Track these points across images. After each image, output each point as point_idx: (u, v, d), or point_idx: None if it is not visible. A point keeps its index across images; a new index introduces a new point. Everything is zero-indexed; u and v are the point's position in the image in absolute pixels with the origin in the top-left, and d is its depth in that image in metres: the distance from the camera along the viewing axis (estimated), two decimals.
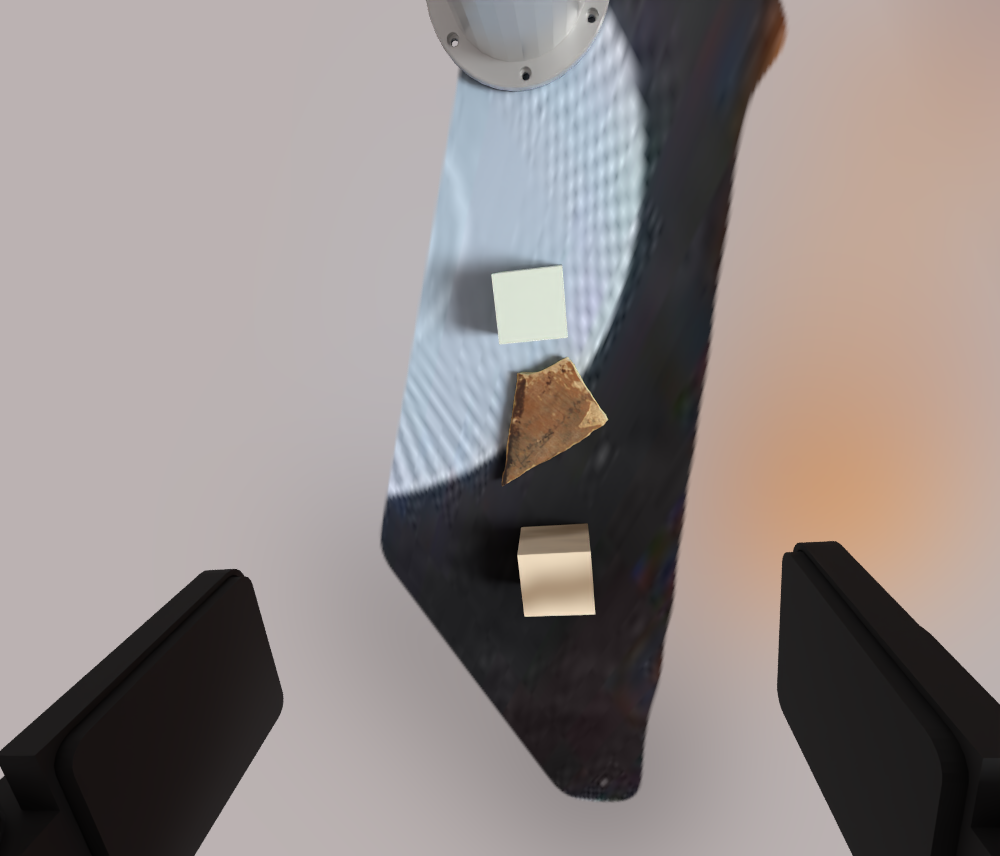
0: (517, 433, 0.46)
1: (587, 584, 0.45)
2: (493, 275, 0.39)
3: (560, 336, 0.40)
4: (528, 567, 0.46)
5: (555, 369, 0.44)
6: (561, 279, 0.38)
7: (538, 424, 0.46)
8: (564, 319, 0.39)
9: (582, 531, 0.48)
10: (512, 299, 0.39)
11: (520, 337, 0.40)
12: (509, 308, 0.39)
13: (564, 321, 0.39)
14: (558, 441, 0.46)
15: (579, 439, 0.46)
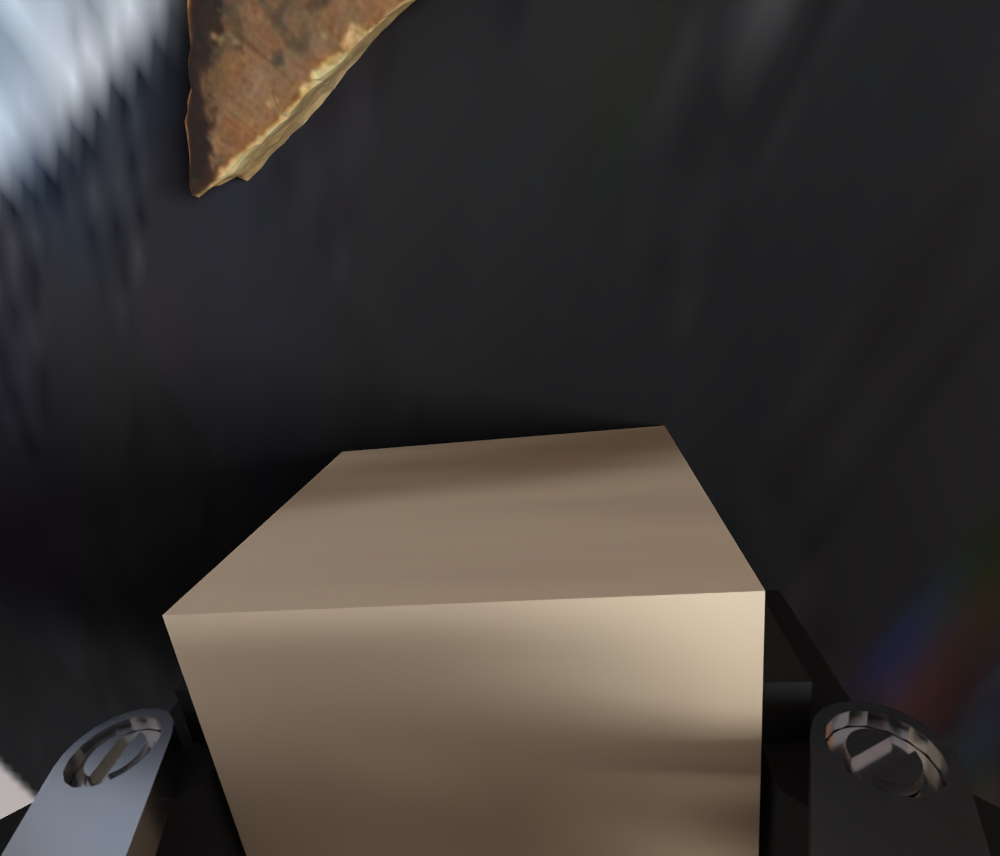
0: None
1: (712, 839, 0.06)
2: None
3: None
4: (263, 710, 0.06)
5: None
6: None
7: None
8: None
9: (648, 458, 0.08)
10: None
11: None
12: None
13: None
14: None
15: None
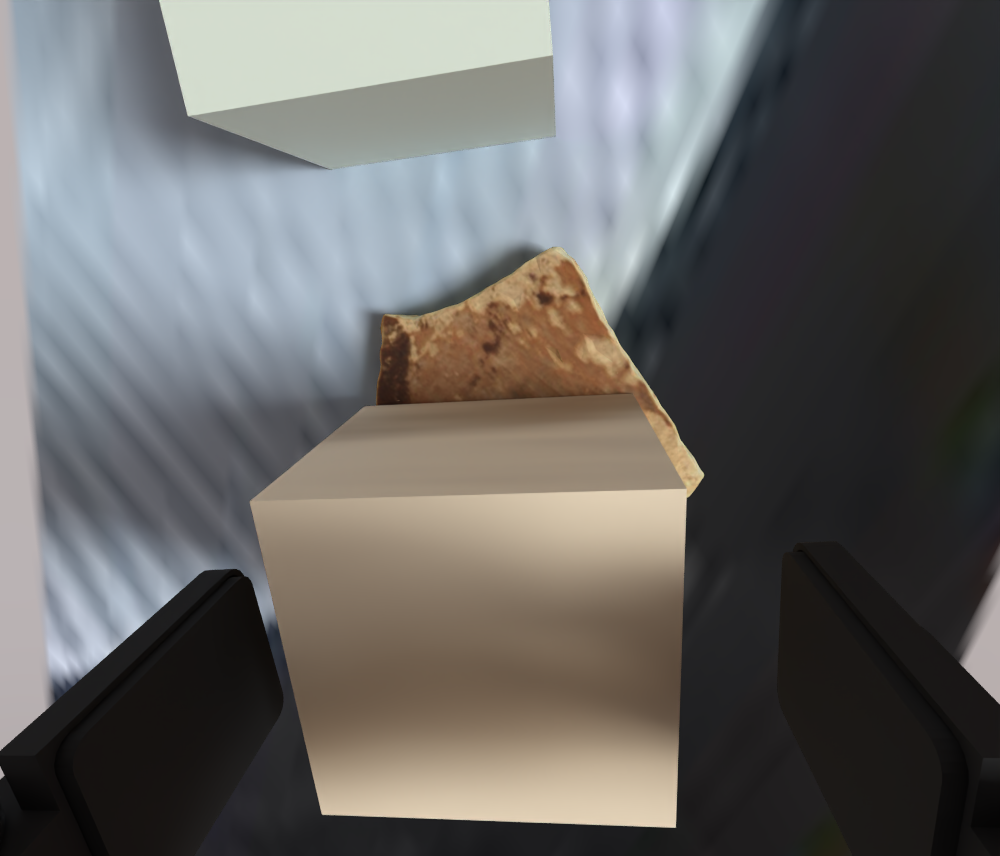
0: None
1: (646, 680, 0.08)
2: None
3: (511, 50, 0.07)
4: (320, 577, 0.08)
5: (514, 294, 0.12)
6: None
7: None
8: None
9: (616, 414, 0.10)
10: None
11: (291, 67, 0.07)
12: None
13: None
14: None
15: None
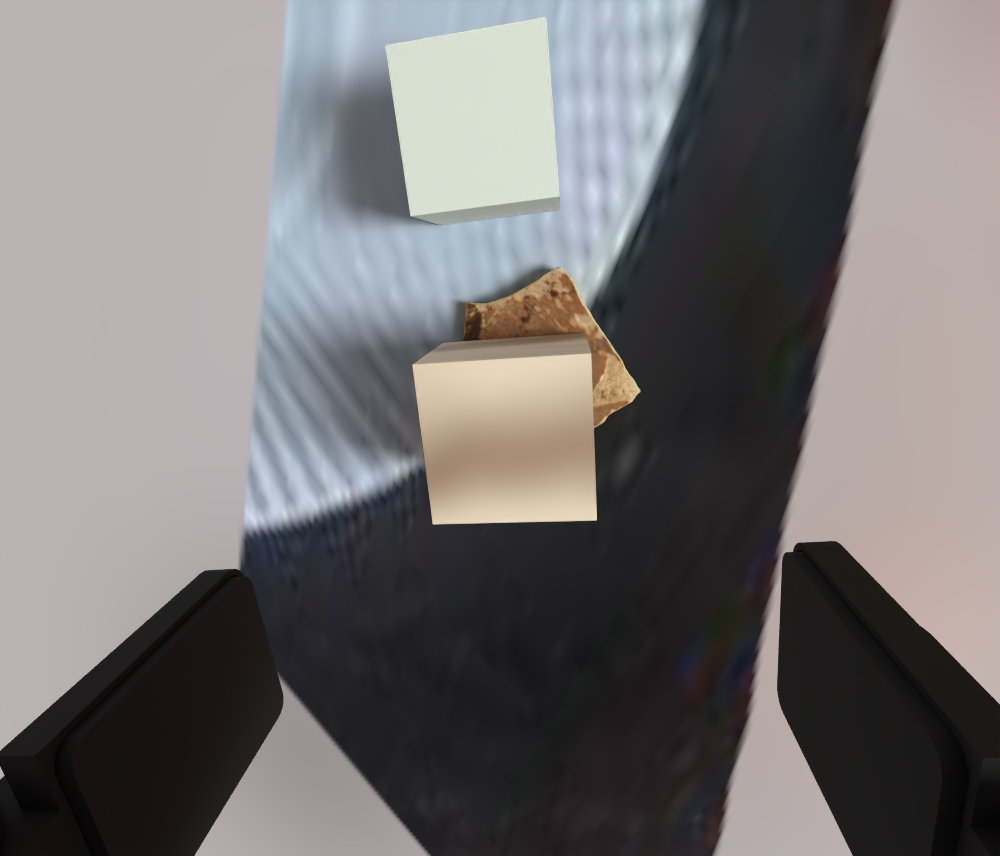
0: None
1: (579, 443, 0.19)
2: (390, 48, 0.17)
3: (543, 194, 0.18)
4: (439, 399, 0.19)
5: (538, 291, 0.22)
6: (544, 52, 0.17)
7: None
8: (552, 152, 0.17)
9: (573, 339, 0.21)
10: (435, 107, 0.17)
11: (455, 198, 0.18)
12: (429, 129, 0.18)
13: (552, 157, 0.17)
14: None
15: None
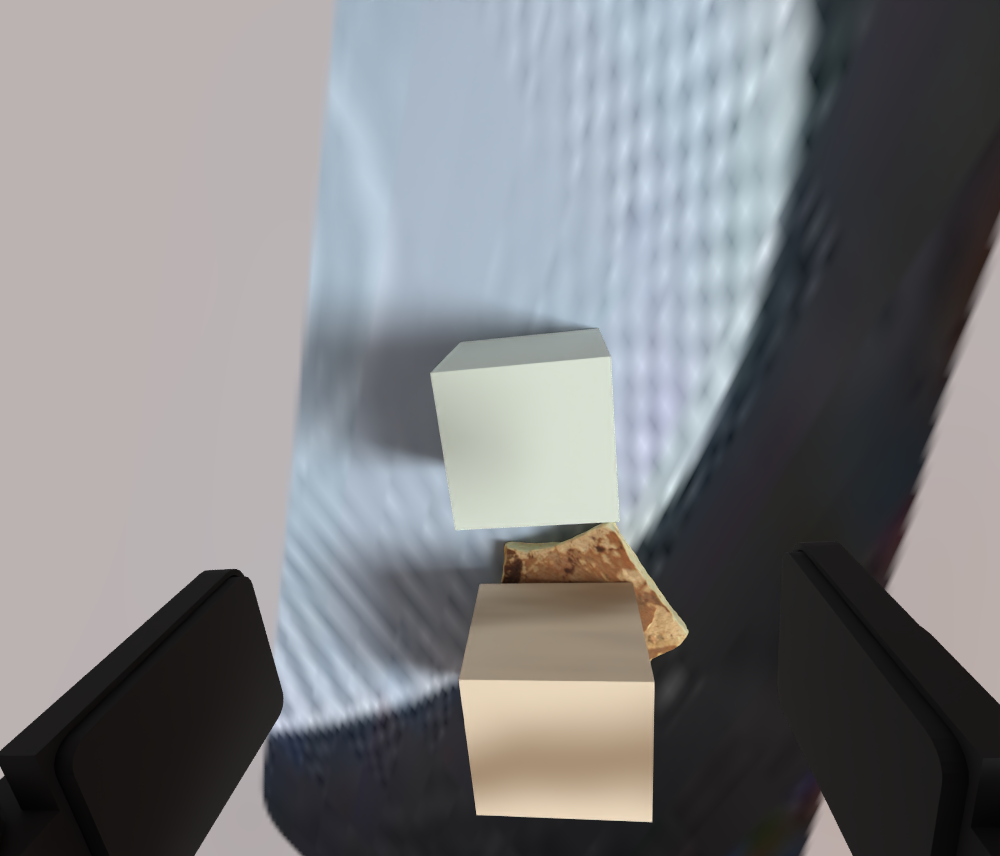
0: None
1: (637, 757, 0.18)
2: (435, 376, 0.15)
3: (601, 518, 0.16)
4: (487, 710, 0.17)
5: (583, 545, 0.21)
6: (608, 389, 0.15)
7: None
8: (612, 481, 0.16)
9: (623, 608, 0.20)
10: (485, 433, 0.16)
11: (505, 517, 0.17)
12: (478, 452, 0.16)
13: (612, 486, 0.16)
14: None
15: None
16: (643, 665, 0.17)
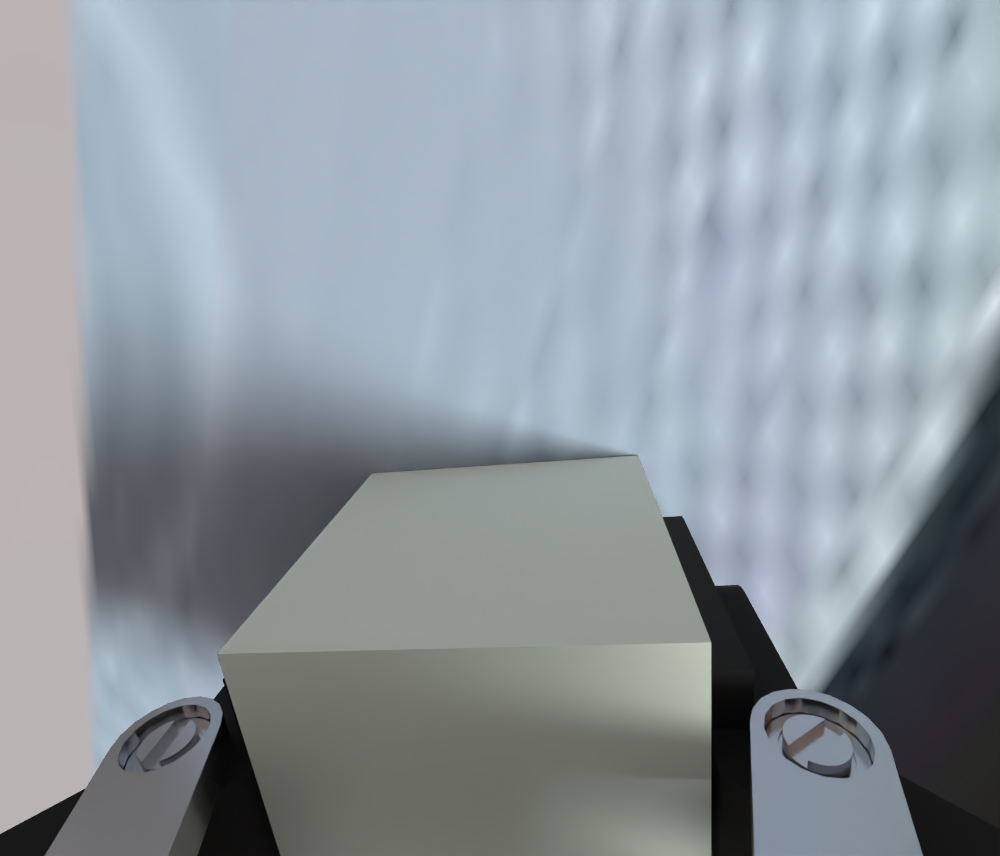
0: None
1: None
2: (232, 662, 0.06)
3: None
4: None
5: None
6: (698, 719, 0.05)
7: None
8: None
9: None
10: (372, 792, 0.06)
11: None
12: (355, 830, 0.06)
13: None
14: None
15: None
16: None
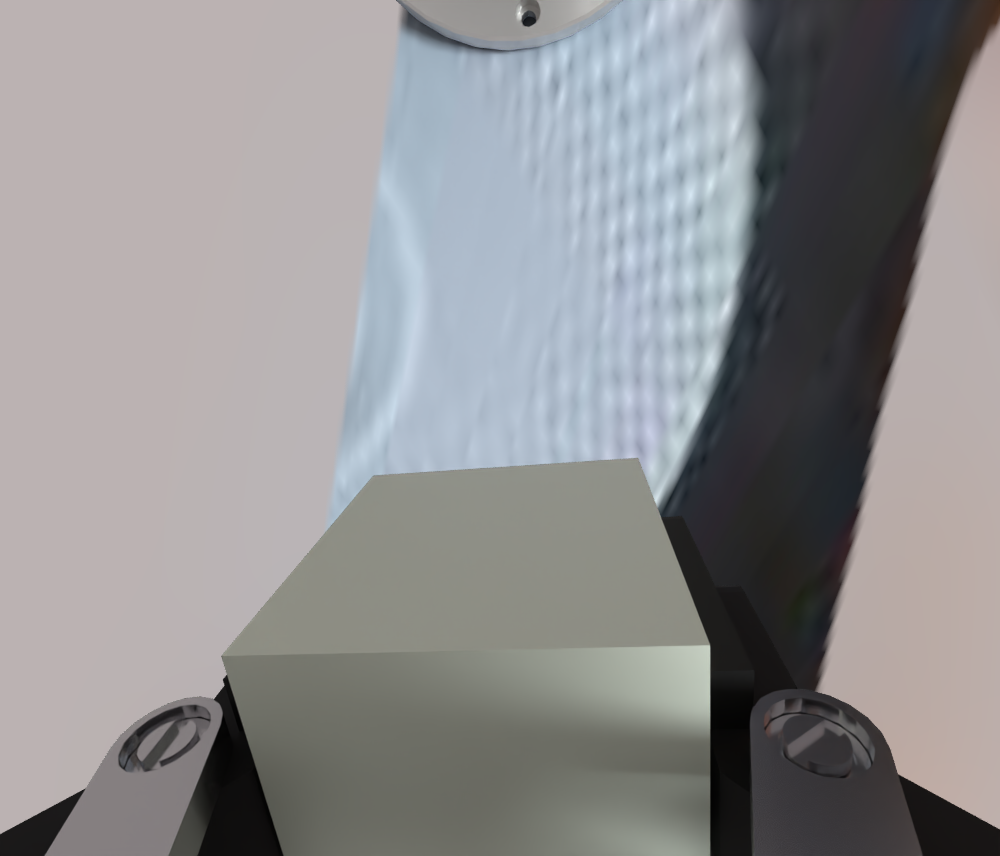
0: None
1: None
2: (236, 663, 0.06)
3: None
4: None
5: None
6: (697, 721, 0.05)
7: None
8: None
9: None
10: (374, 793, 0.06)
11: None
12: (358, 831, 0.06)
13: None
14: None
15: None
16: None
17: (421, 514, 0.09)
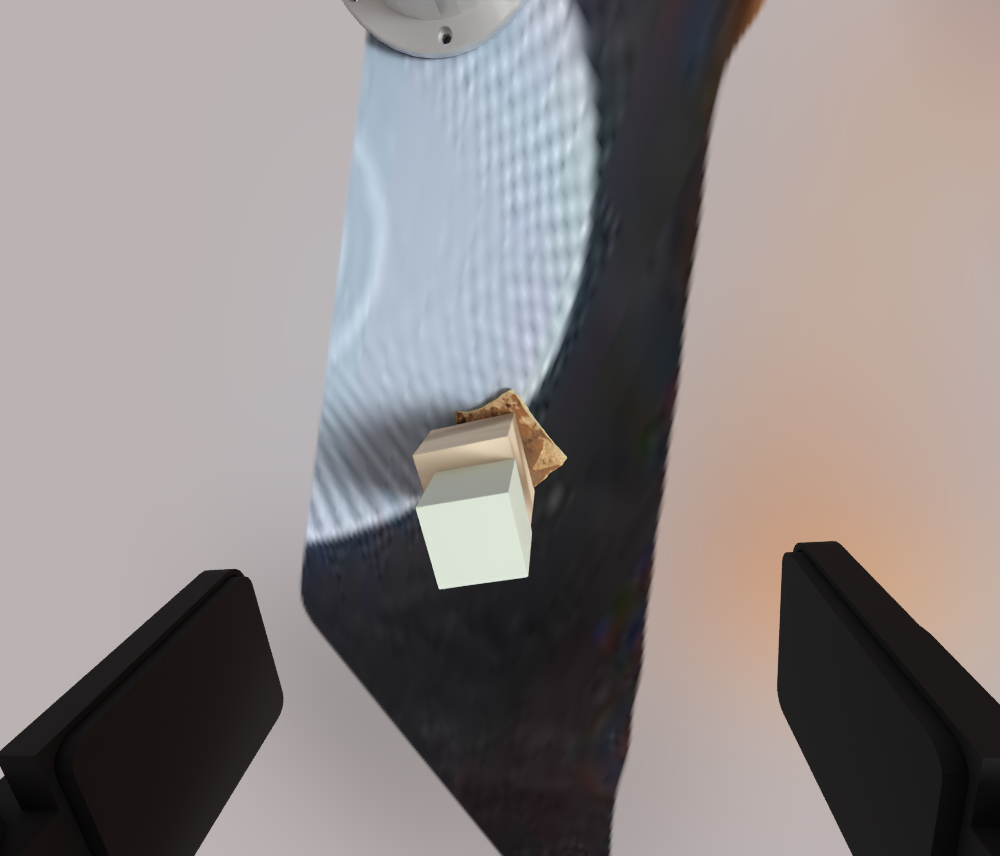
0: None
1: None
2: (418, 509, 0.29)
3: (518, 575, 0.29)
4: (430, 472, 0.34)
5: (498, 404, 0.37)
6: (509, 508, 0.28)
7: None
8: (520, 555, 0.29)
9: (504, 420, 0.36)
10: (448, 536, 0.29)
11: (465, 579, 0.30)
12: (446, 546, 0.29)
13: (520, 558, 0.29)
14: None
15: (535, 483, 0.39)
16: (504, 433, 0.33)
17: (452, 480, 0.32)
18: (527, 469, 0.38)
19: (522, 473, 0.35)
